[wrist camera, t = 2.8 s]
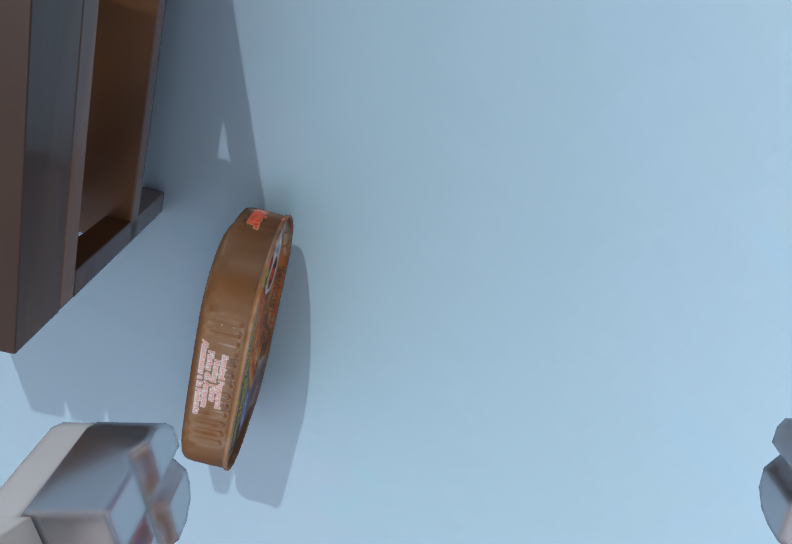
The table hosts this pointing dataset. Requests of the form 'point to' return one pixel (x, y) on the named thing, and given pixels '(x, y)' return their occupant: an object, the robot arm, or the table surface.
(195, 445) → the tin
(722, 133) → the table surface
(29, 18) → the rack
